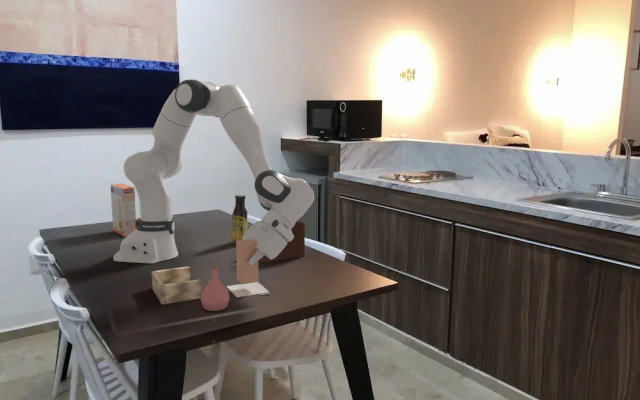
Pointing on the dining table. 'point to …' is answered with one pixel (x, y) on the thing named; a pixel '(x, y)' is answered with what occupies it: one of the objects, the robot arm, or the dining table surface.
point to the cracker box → (123, 209)
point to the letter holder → (291, 245)
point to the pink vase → (215, 294)
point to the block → (244, 269)
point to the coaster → (248, 289)
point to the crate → (175, 285)
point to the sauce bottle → (239, 219)
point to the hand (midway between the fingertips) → (245, 260)
